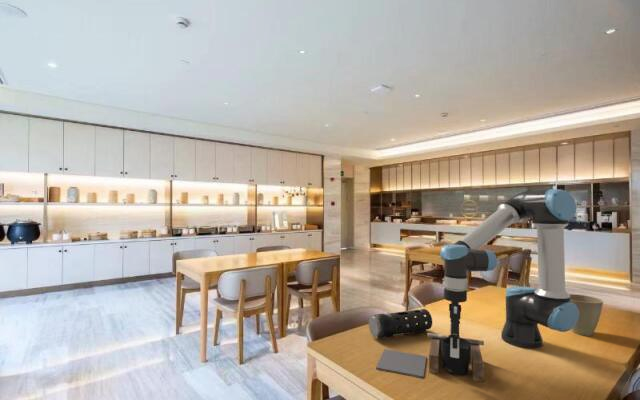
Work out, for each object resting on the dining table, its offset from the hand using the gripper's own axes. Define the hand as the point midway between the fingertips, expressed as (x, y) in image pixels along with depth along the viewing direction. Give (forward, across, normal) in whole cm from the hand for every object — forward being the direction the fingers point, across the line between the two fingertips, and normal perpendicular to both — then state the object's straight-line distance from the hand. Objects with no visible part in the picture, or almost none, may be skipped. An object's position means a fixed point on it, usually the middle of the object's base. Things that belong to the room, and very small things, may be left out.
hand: (454, 349), depth 116 cm
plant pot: (+6, -60, +55) cm, 82 cm away
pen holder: (+8, 0, 0) cm, 8 cm away
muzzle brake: (+8, -25, -22) cm, 34 cm away
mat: (+8, +2, -18) cm, 19 cm away
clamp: (+7, -4, 0) cm, 8 cm away
